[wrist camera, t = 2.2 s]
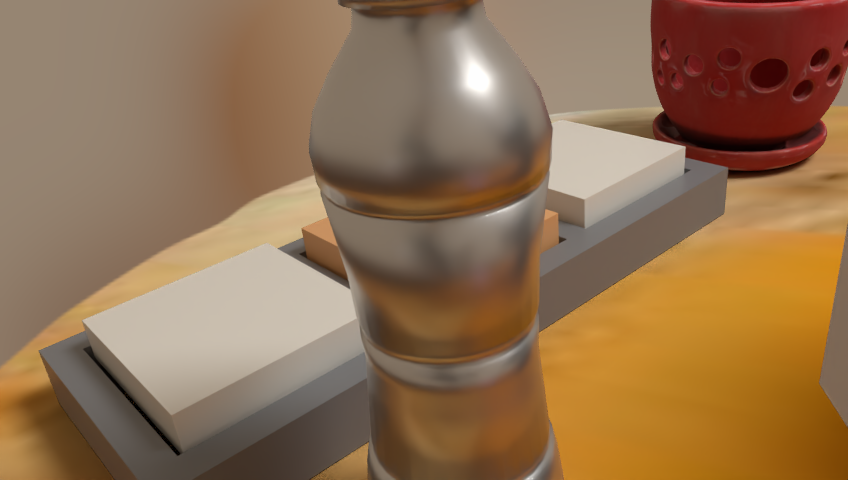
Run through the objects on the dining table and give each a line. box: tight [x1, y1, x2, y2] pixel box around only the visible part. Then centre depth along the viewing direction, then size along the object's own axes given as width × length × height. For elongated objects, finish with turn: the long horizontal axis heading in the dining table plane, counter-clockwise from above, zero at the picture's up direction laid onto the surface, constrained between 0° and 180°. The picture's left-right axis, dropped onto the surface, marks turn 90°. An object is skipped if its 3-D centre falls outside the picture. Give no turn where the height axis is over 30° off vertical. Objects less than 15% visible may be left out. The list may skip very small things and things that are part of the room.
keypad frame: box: [39, 158, 728, 480], centre depth 40 cm, size 13×36×3 cm, turn 131°
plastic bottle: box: [309, 0, 564, 480], centre depth 22 cm, size 6×7×20 cm
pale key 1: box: [546, 120, 686, 229], centre depth 46 cm, size 9×9×2 cm
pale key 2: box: [82, 243, 364, 454], centre depth 33 cm, size 9×9×2 cm
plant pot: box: [651, 0, 848, 171], centre depth 52 cm, size 13×13×12 cm
